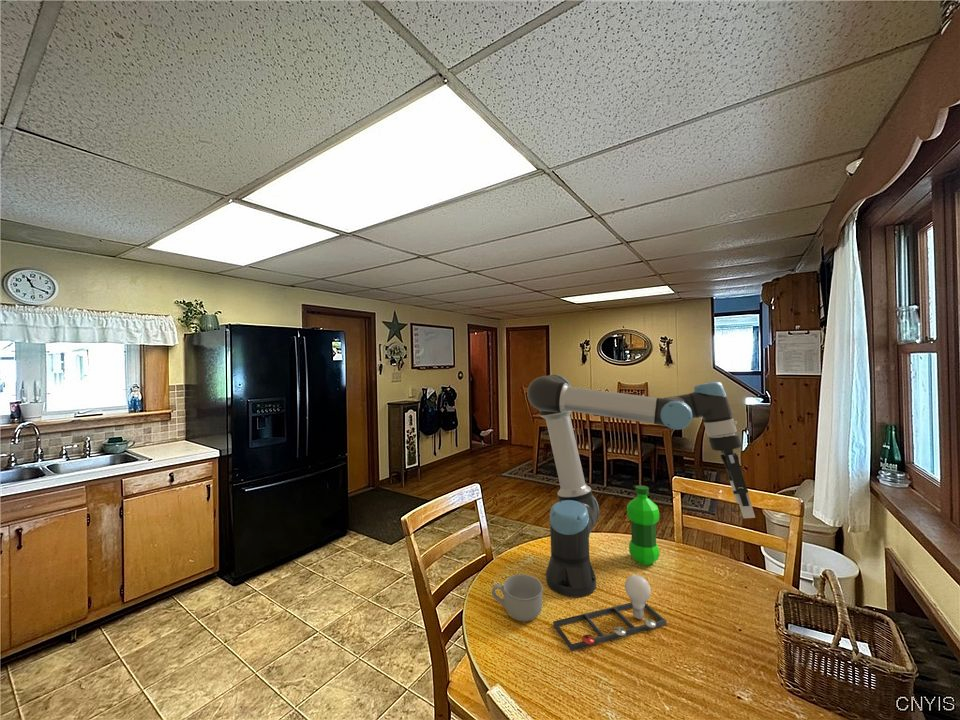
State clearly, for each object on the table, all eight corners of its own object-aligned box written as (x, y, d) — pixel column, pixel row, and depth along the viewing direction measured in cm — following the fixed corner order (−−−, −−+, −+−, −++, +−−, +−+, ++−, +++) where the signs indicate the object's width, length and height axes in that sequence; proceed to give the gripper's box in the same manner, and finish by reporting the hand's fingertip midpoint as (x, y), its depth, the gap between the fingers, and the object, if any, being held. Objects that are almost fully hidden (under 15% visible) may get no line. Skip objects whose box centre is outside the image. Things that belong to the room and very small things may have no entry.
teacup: (546, 605, 106) (545, 577, 106) (539, 632, 96) (538, 600, 96) (498, 597, 111) (498, 569, 111) (487, 621, 100) (486, 590, 100)
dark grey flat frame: (553, 626, 98) (553, 619, 98) (641, 604, 106) (641, 598, 106) (573, 654, 88) (573, 647, 88) (669, 628, 96) (669, 621, 96)
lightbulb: (646, 610, 103) (645, 570, 103) (655, 626, 96) (654, 583, 97) (622, 609, 103) (621, 569, 104) (629, 625, 97) (628, 582, 97)
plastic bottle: (657, 572, 121) (654, 494, 121) (623, 562, 128) (621, 488, 128) (664, 559, 129) (662, 486, 129) (632, 550, 136) (630, 480, 136)
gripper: (744, 439, 97) (770, 524, 94) (732, 427, 119) (752, 496, 116) (711, 443, 100) (735, 525, 97) (705, 431, 122) (724, 498, 119)
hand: (745, 509), depth 106 cm, fingers open, 13 cm apart
